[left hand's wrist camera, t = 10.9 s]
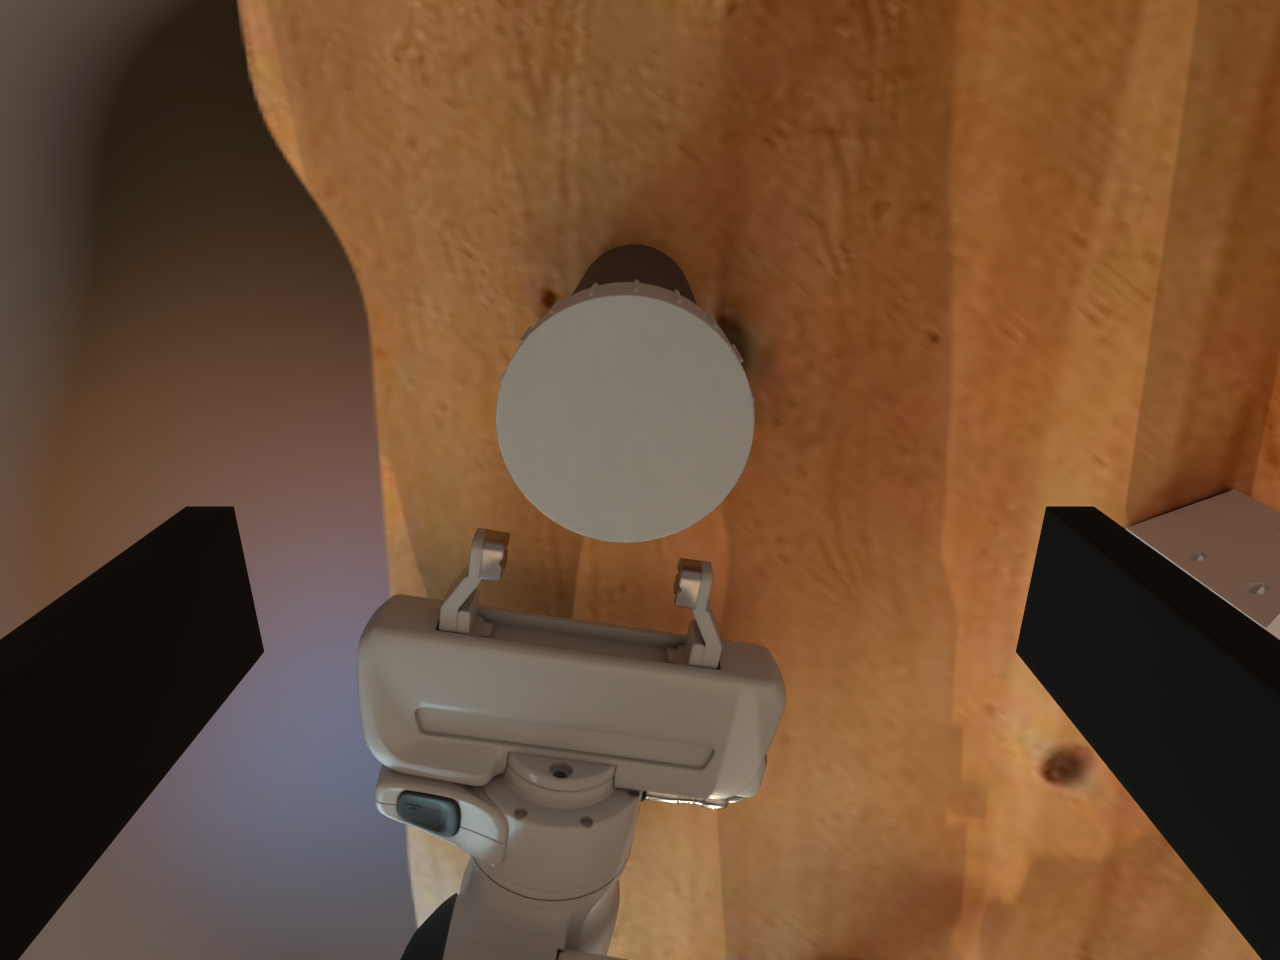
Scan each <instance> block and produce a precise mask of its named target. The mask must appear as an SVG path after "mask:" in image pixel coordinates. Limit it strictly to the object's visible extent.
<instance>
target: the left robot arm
mask: <svg viewBox="0 0 1280 960" xmlns="http://www.w3.org/2000/svg"><path fill="white" fill-rule="evenodd" d="M263 652H264V649H263V644H262V639H261V635H260V630H259V625H258V620H257V616H256V611H255V606H254V601H253V596H252V592H251V587H250V582H249V577H248V573H247V568H246V563H245V558H244V553H243V549H242V544H241V539H240V534H239V530H238V525H237V520H236V515H235V511H234V507H185V508H184V509H182V510H181V511H179V512H178V513H177V514H175V515H174V516H172V517H171V518H170V519H168V520H167V521H165V522H164V523H163V524H161V525H160V526H158V527H157V528H156V529H154V530H153V531H152V532H150V533H149V534H147V535H146V536H145V537H143V538H142V539H140V540H139V541H138V542H136V543H135V544H133V545H132V546H131V547H129V548H128V549H126V550H125V551H124V552H122V553H121V554H119V555H118V556H117V557H115V558H114V559H112V560H111V561H110V562H108V563H107V564H105V565H104V566H103V567H101V568H100V569H98V570H97V571H96V572H94V573H93V574H91V575H90V576H89V577H87V578H86V579H84V580H83V581H82V582H80V583H79V584H78V585H76V586H75V587H73V588H72V589H71V590H69V591H68V592H66V593H65V594H64V595H62V596H61V597H59V598H58V599H57V600H55V601H54V602H52V603H51V604H50V605H48V606H47V607H45V608H44V609H43V610H41V611H40V612H38V613H37V614H36V615H34V616H33V617H31V618H30V619H29V620H27V621H26V622H24V623H23V624H22V625H20V626H19V627H17V628H16V629H15V630H13V631H12V632H10V633H9V634H8V635H6V636H5V637H4V638H2V639H1V640H0V960H18V959H19V958H20V956H21V955H22V954H23V953H24V951H25V950H26V949H27V948H28V946H29V945H30V944H31V943H32V941H33V940H34V939H35V938H36V936H37V935H38V934H39V933H40V931H41V930H42V929H43V928H44V926H45V925H46V924H47V923H48V921H49V920H50V919H51V918H52V916H53V915H54V914H55V913H56V911H57V910H58V909H59V908H60V906H61V905H62V904H63V903H64V901H65V900H66V899H67V898H68V896H69V895H70V894H71V893H72V891H73V890H74V889H75V888H76V886H77V885H78V884H79V883H80V881H81V880H82V879H83V878H84V876H85V875H86V874H87V873H88V871H89V870H90V869H91V868H92V866H93V865H94V864H95V863H96V861H97V860H98V859H99V858H100V856H101V855H102V854H103V853H104V851H105V850H106V849H107V848H108V846H109V845H110V844H111V843H112V841H113V840H114V839H115V838H116V836H117V835H118V834H119V833H120V831H121V830H122V829H123V828H124V826H125V825H126V824H127V823H128V821H129V820H130V819H131V818H132V816H133V815H134V814H135V813H136V811H137V810H138V809H139V808H140V806H141V805H142V804H143V803H144V801H145V800H146V799H147V798H148V796H149V795H150V794H151V792H152V791H153V790H154V789H155V788H156V786H157V785H158V784H159V782H160V781H161V780H162V779H163V778H164V776H165V775H166V774H167V772H168V771H169V770H170V769H171V768H172V766H173V765H174V764H175V763H176V761H177V760H178V759H179V758H180V756H181V755H182V754H183V753H184V751H185V750H186V749H187V748H188V746H189V745H190V744H191V743H192V741H193V740H194V739H195V737H196V736H197V735H198V734H199V733H200V731H201V730H202V729H203V727H204V726H205V725H206V724H207V722H208V721H209V720H210V719H211V718H212V716H213V715H214V714H215V713H216V711H217V710H218V709H219V708H220V706H221V705H222V704H223V703H224V701H225V700H226V699H227V698H228V696H229V695H230V694H231V692H232V691H233V690H234V689H235V688H236V686H237V685H238V684H239V683H240V681H241V680H242V679H243V677H244V676H245V675H246V674H247V673H248V671H249V670H250V669H251V668H252V666H253V665H254V664H255V663H256V661H257V660H258V659H259V657H260V656H261V655H262V654H263ZM1016 652H1017V654H1018V655H1019V656H1020V657H1021V659H1022V660H1023V661H1024V663H1025V664H1026V665H1027V666H1028V668H1029V669H1030V670H1031V671H1032V673H1033V674H1034V675H1035V676H1036V678H1037V679H1038V680H1039V681H1040V683H1041V684H1042V685H1043V686H1044V688H1045V689H1046V690H1047V691H1048V693H1049V694H1050V695H1051V696H1052V698H1053V699H1054V700H1055V701H1056V703H1057V704H1058V705H1059V706H1060V708H1061V709H1062V710H1063V711H1064V713H1065V714H1066V715H1067V716H1068V718H1069V719H1070V720H1071V721H1072V723H1073V724H1074V725H1075V726H1076V728H1077V729H1078V730H1079V731H1080V733H1081V734H1082V735H1083V736H1084V738H1085V739H1086V740H1087V741H1088V743H1089V744H1090V745H1091V746H1092V748H1093V749H1094V750H1095V751H1096V753H1097V754H1098V755H1099V756H1100V758H1101V759H1102V760H1103V761H1104V763H1105V764H1106V765H1107V766H1108V768H1109V769H1110V770H1111V771H1112V773H1113V774H1114V775H1115V776H1116V778H1117V779H1118V780H1119V781H1120V783H1121V784H1122V785H1123V786H1124V788H1125V789H1126V790H1127V791H1128V793H1129V794H1130V795H1131V796H1132V798H1133V799H1134V800H1135V801H1136V803H1137V804H1138V805H1139V806H1140V808H1141V809H1142V810H1143V811H1144V813H1145V814H1146V815H1147V816H1148V818H1149V819H1150V820H1151V821H1152V823H1153V824H1154V825H1155V826H1156V828H1157V829H1158V830H1159V831H1160V833H1161V834H1162V835H1163V836H1164V838H1165V839H1166V840H1167V841H1168V843H1169V844H1170V845H1171V846H1172V848H1173V849H1174V850H1175V851H1176V853H1177V854H1178V855H1179V856H1180V858H1181V859H1182V860H1183V861H1184V863H1185V864H1186V865H1187V866H1188V868H1189V869H1190V870H1191V871H1192V873H1193V874H1194V875H1195V876H1196V878H1197V879H1198V880H1199V881H1200V883H1201V884H1202V885H1203V886H1204V888H1205V889H1206V890H1207V891H1208V893H1209V894H1210V895H1211V896H1212V898H1213V899H1214V900H1215V901H1216V903H1217V904H1218V905H1219V906H1220V908H1221V909H1222V910H1223V911H1224V913H1225V914H1226V915H1227V916H1228V918H1229V919H1230V920H1231V921H1232V923H1233V924H1234V925H1235V926H1236V928H1237V929H1238V930H1239V931H1240V933H1241V934H1242V935H1243V936H1244V938H1245V939H1246V940H1247V941H1248V943H1249V944H1250V945H1251V946H1252V948H1253V949H1254V950H1255V951H1256V953H1257V954H1258V955H1259V956H1260V958H1261V959H1262V960H1280V640H1279V639H1278V638H1276V637H1275V636H1274V635H1272V634H1271V633H1270V632H1268V631H1267V630H1265V629H1264V628H1263V627H1261V626H1260V625H1258V624H1257V623H1256V622H1254V621H1253V620H1251V619H1250V618H1249V617H1247V616H1246V615H1244V614H1243V613H1242V612H1240V611H1239V610H1237V609H1236V608H1235V607H1233V606H1232V605H1230V604H1229V603H1228V602H1226V601H1225V600H1223V599H1222V598H1221V597H1219V596H1218V595H1216V594H1215V593H1214V592H1212V591H1211V590H1209V589H1208V588H1207V587H1205V586H1204V585H1203V584H1201V583H1200V582H1198V581H1197V580H1196V579H1194V578H1193V577H1191V576H1190V575H1189V574H1187V573H1186V572H1184V571H1183V570H1182V569H1180V568H1179V567H1177V566H1176V565H1175V564H1173V563H1172V562H1170V561H1169V560H1168V559H1166V558H1165V557H1163V556H1162V555H1161V554H1159V553H1158V552H1156V551H1155V550H1154V549H1152V548H1151V547H1149V546H1148V545H1147V544H1145V543H1144V542H1142V541H1141V540H1140V539H1138V538H1137V537H1135V536H1134V535H1133V534H1131V533H1130V532H1129V531H1127V530H1126V529H1124V528H1123V527H1122V526H1120V525H1119V524H1117V523H1116V522H1115V521H1113V520H1112V519H1110V518H1109V517H1108V516H1106V515H1105V514H1103V513H1102V512H1101V511H1099V510H1098V509H1096V508H1095V507H1046V510H1045V515H1044V520H1043V525H1042V530H1041V534H1040V539H1039V544H1038V549H1037V553H1036V558H1035V563H1034V568H1033V573H1032V577H1031V582H1030V587H1029V592H1028V596H1027V601H1026V606H1025V611H1024V615H1023V620H1022V625H1021V630H1020V635H1019V639H1018V644H1017V649H1016Z"/></svg>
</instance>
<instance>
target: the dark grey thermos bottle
mask: <svg viewBox="0 0 1280 960" xmlns="http://www.w3.org/2000/svg"><path fill="white" fill-rule="evenodd" d="M635 280H639V283H644V284H650V285H655V286H659V287H662V288H665V289H667V290H670V291H673V292H674V291H675V289H676V290H678V291H679V293H680V295H681V296H683V297H685V298H687V299H689V300H690V301H691V302H693V303H694V304H696V305H697V303H696V301H695V298H694V296H693V294H692V291H691V289H690V287H689V285H688V282H687V280H686V278H685V276H684V274H683V272H682V271H681V269H680V268H679V267H678V265H677V264H676V263H675V262H674V261H673V260H672V259H671V258H670V257H668V256H667V255H665V254H664V253H662V252H660V251H658V250H656V249H653V248H651V247H647V246H642V245H627V246H622V247H618V248H615V249H612V250H610V251H608V252H606V253H605V254H603V255H602V256H600V257H599V258H598V259H597V260H596V261H595V262H594V263H593V264H592V265H591V266H590V267H589V269H588V270H587V272H586V273H585V275H584V276H583V278H582V280H581V281H580V283H579V284H578V286H577V288H576V289H575V291H574V292H573V294H572V295H574V294H576V293H578V292H580V291H583V290H585V289H588V288H591V287H592V286H593V284H594V283H598V285H603V284H608V283H618V282H635ZM572 295H571V296H572ZM697 306H698V305H697Z"/></svg>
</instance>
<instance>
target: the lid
mask: <svg viewBox="0 0 1280 960" xmlns="http://www.w3.org/2000/svg"><path fill="white" fill-rule="evenodd" d="M518 343H519V344H520V346H519V347H518V349H517V350H516V352H515V354H514V355H513V357H512V359H511V360H510V362H509V364H508V366H507V369H506V371H505V372H504V374H503V375H502V377H501V379H500V381H502V382H501V385H500V389H499V393H498V399H497V406H496V429H497V436H498V442H499V446H500V449H501V453H502V456H503V459H504V462H505V464H506V466H507V468H508V471H509V473H510V475H511V476H512V478H513V480H514V481H515V483H516V485H517V486H518V488H519V489H520V490H521V491H522V493H523V494H524V495H525V496H526V498H527V499H528V500H529V501H530V502H531V503H532V504H533V505H534V506H535V507H536V508H537V509H538V510H539V511H541V512H542V513H543V514H545V515H546V516H547V517H549V518H550V519H551V520H553V521H554V522H556V523H558V524H559V525H561V526H563V527H565V528H567V529H569V530H571V531H573V532H576V533H578V534H580V535H584V536H587V537H590V538H594V539H598V540H604V541H610V542H625V543H628V542H643V541H649V540H654V539H659V538H662V537H666V536H669V535H672V534H675V533H677V532H679V531H681V530H684V529H686V528H688V527H690V526H691V525H693V524H695V523H696V522H698V521H700V520H701V519H703V518H704V517H705V516H706V515H708V514H709V513H710V512H712V511H713V510H714V509H715V508H716V507H717V506H718V505H719V504H720V503H721V502H722V501H723V500H724V499H725V498H726V496H727V495H728V494H729V493H730V491H731V490H732V489H733V487H734V486H735V484H736V483H737V481H738V479H739V477H740V476H741V474H742V472H743V470H744V467H745V465H746V462H747V460H748V458H749V454H750V450H751V446H752V443H753V436H754V427H755V414H754V403H753V402H755V398H754V396H753V394H752V391H751V388H750V385H749V382H748V378H747V376H746V373H745V371H744V369H743V367H742V365H741V363H742V362H743V359H742V357H741V355H740V354H739V352H738V350H737V348H736V346H735V345H734V344H732V345H731V344H730V342H729V340H728V339H727V337H726V336H725V334H724V333H723V331H722V329H721V328H720V327H719V326H718V324H717V322H716V320H715V319H714V317H713V315H712V314H711V313H710V312H709V313H708V314H707V313H706V312H705V311H704V310H702V309H701V308H700V307H699V306H697V305H696V304H694V303H693V302H691V301H690V300H689V299H687V298H685V297H683V296H681V295H680V293H679V291H678V290H676V289H675V291H674V292H673V291H670V290H667V289H665V288H662V287H659V286H655V285H650V284H644V283H639V280H635V282H618V283H608V284H603V285H598V283H594V284H593V286H592V287H591V288H588V289H585V290H583V291H580V292H578V293H576V294H574V295H572V296H570V297H568V298H566V299H564V300H563V301H561V300H560V299H559V300H557V301H556V302H555V304H554V305H553V307H552V308H551V309H550V311H548V312H547V313H546V314H545V315H544V316H543V317H542V318H541V319H540V320H539V321H538V323H537V324H536V325H535V326H534V328H531V327H529V329H528V330H527V331H526V332H525V334H524V335H523V336H522V338H521V339H520V340H519V342H518Z"/></svg>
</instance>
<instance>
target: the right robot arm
mask: <svg viewBox="0 0 1280 960" xmlns="http://www.w3.org/2000/svg"><path fill="white" fill-rule="evenodd" d="M509 537H510V533H507V532H501V531H495V530H488V529H482V528H478V529H477V531H476V533H475V535H474V538H473V541H472V546H471V552H470V563H469V564H468V566H467V567H466V568H465V569H464V570H463V572H462V573H461V574H460V575H459V576H458V578H457V579H456V580H455V581H454V582H453V584H452V585H451V587H450V589H449V591H448V593H447V595H446V597H445V599H444V600H437V599H430V598H423V597H416V596H410V595H402V594H398V595H394V596H392V597H391V598H390V599H388V600H387V601H386V602H385V603H384V604H383V605H382V606H380V607H379V608H378V609H377V610H376V612H375V613H374V614H373V616H372V617H371V618H370V620H369V622H368V623H367V625H366V627H365V629H364V631H363V633H362V635H361V638H360V641H359V646H358V656H357V683H358V698H359V708H360V716H361V723H362V730H363V734H364V738H365V741H366V743H367V745H368V748H369V749H370V751H371V753H372V754H373V755H374V757H375V758H376V759H377V760H378V761H379V762H381V763H382V764H383V765H382V768H381V771H380V774H379V778H378V782H377V786H376V790H375V805H376V808H377V809H378V811H379V812H380V813H382V814H383V815H385V816H387V817H389V818H391V819H393V820H396V821H398V822H401V823H404V824H406V825H409V826H412V827H414V828H417V829H419V830H422V831H424V832H426V833H429V834H431V835H433V836H436V837H438V838H440V839H442V840H444V841H446V842H448V843H450V844H452V845H454V846H456V847H458V848H460V849H462V850H463V851H465V852H467V853H468V854H470V856H471V858H470V860H469V862H468V864H467V866H466V869H465V872H464V875H463V880H462V884H461V889H460V894H459V895H458V894H457V893H456V894H454V895H452V896H451V897H450V898H448V899H447V900H446V901H445V902H443V903H442V904H441V905H440V906H439V907H438V908H437V909H436V910H435V911H434V912H433V913H432V914H431V916H430V917H429V918H428V919H427V920H426V921H425V922H424V923H423V924H422V925H421V926H420V927H419V928H418V929H417V931H416V932H415V933H414V935H413V937H412V938H411V940H410V942H409V944H408V945H407V947H406V949H405V951H404V954H403V955H402V958H401V960H627V959H622V958H616V957H610V956H607V952H608V949H609V946H610V942H611V938H612V935H613V931H614V927H615V923H616V918H617V914H618V908H619V901H620V887H619V877H620V876H621V874H622V872H623V870H624V868H625V866H626V864H627V861H628V858H629V855H630V851H631V847H632V842H633V837H634V833H635V828H636V823H637V818H638V813H639V808H640V802H641V801H643V800H648V801H656V802H664V803H674V804H677V803H678V804H682V803H684V804H688V803H689V804H695V805H701V806H702V807H705V808H710V809H723V808H726V807H727V806H728V803H733V802H739V801H742V800H744V799H747V798H750V797H753V796H754V795H755V794H756V793H757V792H758V790H759V788H760V785H761V782H762V778H763V775H764V771H765V767H766V764H767V756H766V753H767V751H768V749H769V747H770V745H771V743H772V740H773V738H774V736H775V733H776V731H777V728H778V725H779V723H780V720H781V717H782V714H783V711H784V708H785V704H786V692H785V686H784V681H783V677H782V674H781V671H780V669H779V666H778V665H777V663H776V661H775V659H774V658H773V656H772V655H771V653H770V652H769V650H768V649H767V648H765V647H764V646H760V645H755V644H747V643H740V642H733V641H726V640H721V638H720V632H719V626H718V622H717V619H716V617H715V614H714V612H713V609H712V607H711V604H710V602H709V595H710V590H711V586H712V577H713V572H712V567H711V562H705V561H698V560H691V559H684V558H680V559H679V563H678V574H677V575H676V577H675V582H674V594H675V598H674V600H675V606H678V607H684V608H690V609H692V611H693V614H694V616H695V619H696V620H692V621H690V624H689V629H688V633H687V635H684V634H676V633H669V632H662V631H655V630H648V629H641V628H634V627H627V626H620V625H613V624H606V623H599V622H592V621H585V620H578V619H571V618H564V617H557V616H550V615H543V614H536V613H529V612H522V611H514V610H507V609H500V608H493V607H486V606H479V605H478V603H479V590H478V589H475V588H476V587H477V585H478V584H479V583H480V582H481V580H482V579H489V580H497V581H500V580H501V577H502V575H503V570H504V569H505V566H506V563H507V555H508V550H507V546H508V543H509Z"/></svg>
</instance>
